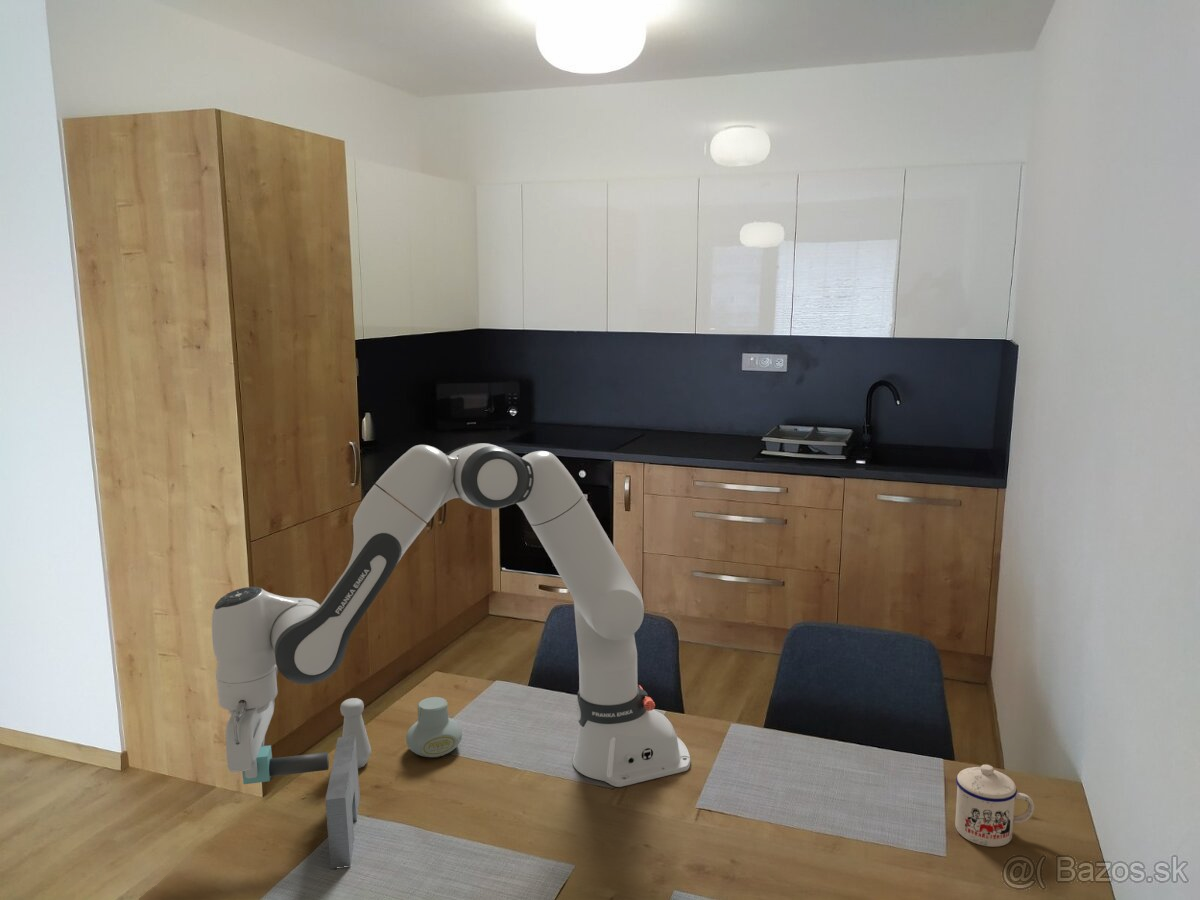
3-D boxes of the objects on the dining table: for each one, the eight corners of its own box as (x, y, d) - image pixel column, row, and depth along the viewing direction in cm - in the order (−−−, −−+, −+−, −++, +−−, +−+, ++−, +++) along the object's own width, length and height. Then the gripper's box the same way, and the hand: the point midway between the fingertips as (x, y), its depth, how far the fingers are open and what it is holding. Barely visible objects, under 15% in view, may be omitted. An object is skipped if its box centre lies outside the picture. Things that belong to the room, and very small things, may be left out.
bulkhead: (359, 797, 158) (355, 735, 156) (350, 866, 139) (345, 797, 137) (342, 799, 157) (337, 737, 155) (330, 869, 138) (325, 800, 136)
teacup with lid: (960, 846, 141) (964, 779, 139) (948, 813, 150) (951, 750, 148) (1040, 853, 139) (1045, 785, 137) (1023, 819, 148) (1028, 756, 146)
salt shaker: (376, 756, 172) (372, 694, 170) (365, 772, 166) (361, 708, 164) (347, 755, 172) (342, 694, 170) (335, 771, 167) (331, 707, 165)
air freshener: (456, 735, 180) (454, 689, 178) (467, 753, 172) (464, 706, 171) (403, 746, 176) (400, 699, 174) (411, 766, 168) (408, 717, 167)
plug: (329, 763, 147) (327, 739, 147) (327, 774, 144) (325, 749, 143) (247, 772, 145) (245, 748, 144) (243, 784, 141) (241, 759, 141)
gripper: (256, 716, 131) (264, 800, 134) (278, 661, 151) (285, 735, 154) (211, 720, 130) (220, 805, 133) (239, 664, 150) (247, 739, 152)
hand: (255, 767), depth 143 cm, fingers closed on plug, 4 cm apart
